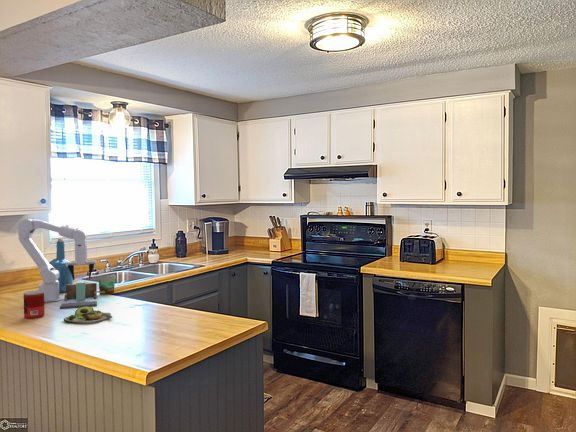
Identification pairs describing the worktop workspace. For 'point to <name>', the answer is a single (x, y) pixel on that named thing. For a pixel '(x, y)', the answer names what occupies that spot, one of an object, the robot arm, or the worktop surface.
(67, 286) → the brown banded box
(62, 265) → the wine bottle
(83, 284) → the pale green block
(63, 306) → the rubber mat
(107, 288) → the food container
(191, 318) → the worktop surface
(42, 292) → the canned food
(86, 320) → the salad plate
